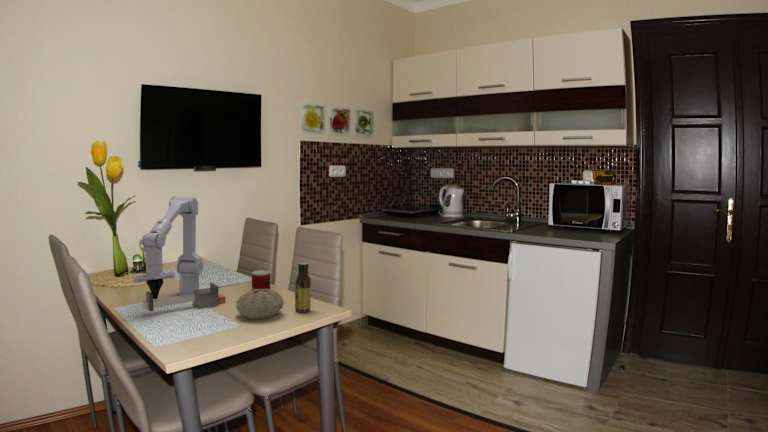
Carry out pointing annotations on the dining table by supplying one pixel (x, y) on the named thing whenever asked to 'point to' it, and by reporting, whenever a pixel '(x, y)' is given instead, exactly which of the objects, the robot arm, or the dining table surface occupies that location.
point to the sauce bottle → (303, 289)
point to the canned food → (260, 279)
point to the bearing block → (207, 297)
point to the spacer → (222, 299)
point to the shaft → (166, 300)
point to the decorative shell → (259, 303)
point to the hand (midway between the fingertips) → (155, 298)
